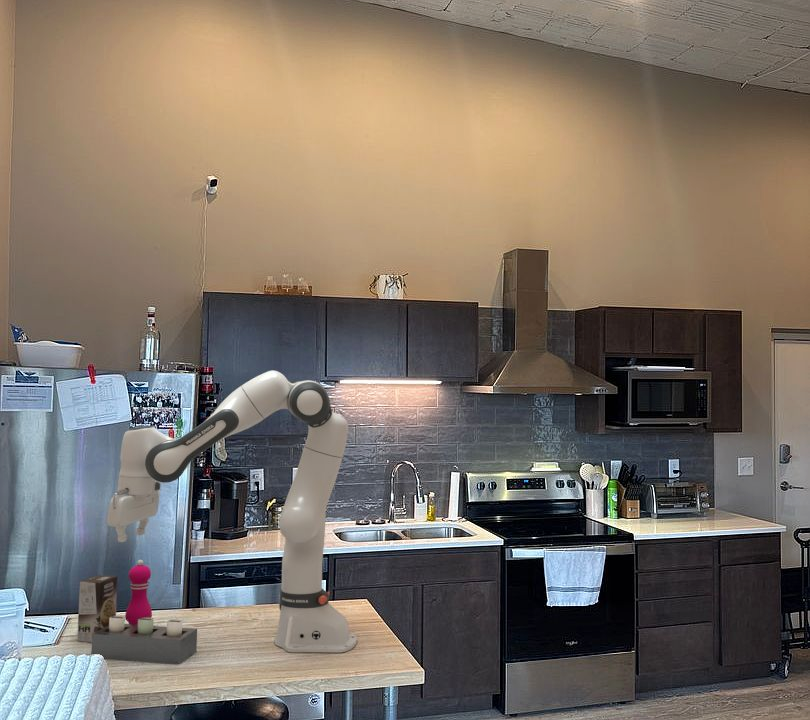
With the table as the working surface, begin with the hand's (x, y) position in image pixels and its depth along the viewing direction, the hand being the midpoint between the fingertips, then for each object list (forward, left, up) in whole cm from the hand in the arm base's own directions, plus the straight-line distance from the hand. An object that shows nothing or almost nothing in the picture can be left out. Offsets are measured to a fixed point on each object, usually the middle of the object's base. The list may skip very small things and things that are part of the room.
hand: (131, 538), depth 212 cm
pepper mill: (+5, -15, -29) cm, 33 cm away
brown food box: (+13, -7, -29) cm, 33 cm away
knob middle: (-7, +4, -24) cm, 26 cm away
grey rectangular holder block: (-7, +4, -29) cm, 30 cm away
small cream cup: (+1, +4, -24) cm, 25 cm away
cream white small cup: (-15, +4, -24) cm, 29 cm away
